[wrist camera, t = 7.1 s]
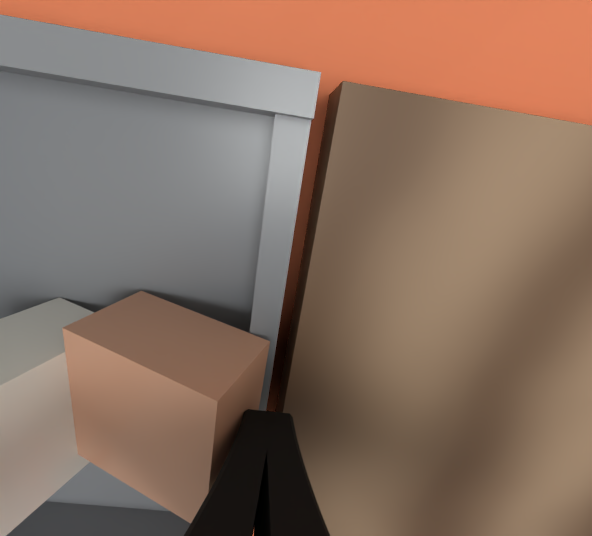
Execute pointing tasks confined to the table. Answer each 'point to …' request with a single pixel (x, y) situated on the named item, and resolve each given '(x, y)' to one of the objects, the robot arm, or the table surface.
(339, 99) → the walnut board
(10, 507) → the cream tile
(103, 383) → the terracotta tile
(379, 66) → the table surface
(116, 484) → the gray box
